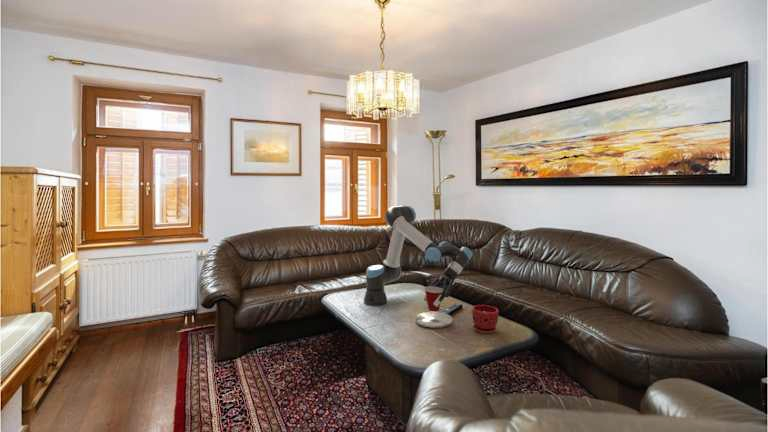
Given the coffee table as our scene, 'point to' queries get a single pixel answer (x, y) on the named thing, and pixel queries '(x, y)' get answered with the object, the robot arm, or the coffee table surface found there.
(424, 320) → the disc
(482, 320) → the plant pot
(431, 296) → the plastic cup
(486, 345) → the coffee table surface
